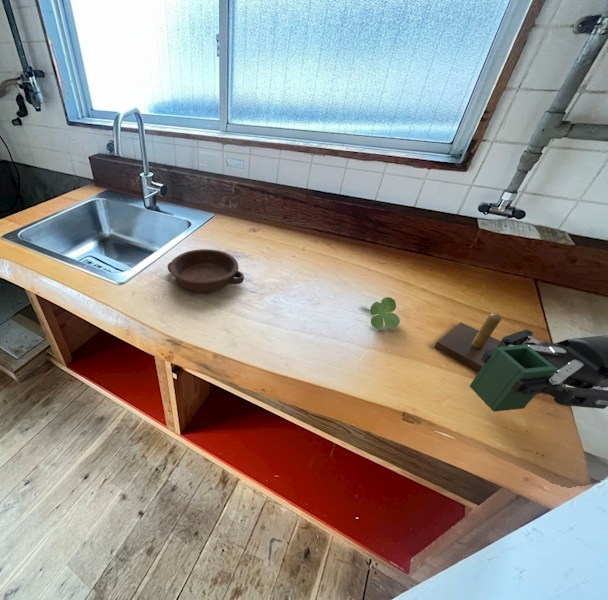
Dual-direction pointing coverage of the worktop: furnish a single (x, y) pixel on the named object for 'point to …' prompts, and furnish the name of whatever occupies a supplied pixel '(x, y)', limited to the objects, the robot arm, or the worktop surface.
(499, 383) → the sleeve
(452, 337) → the brown peg stand
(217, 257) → the dish
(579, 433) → the worktop surface
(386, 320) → the green leafy piece
